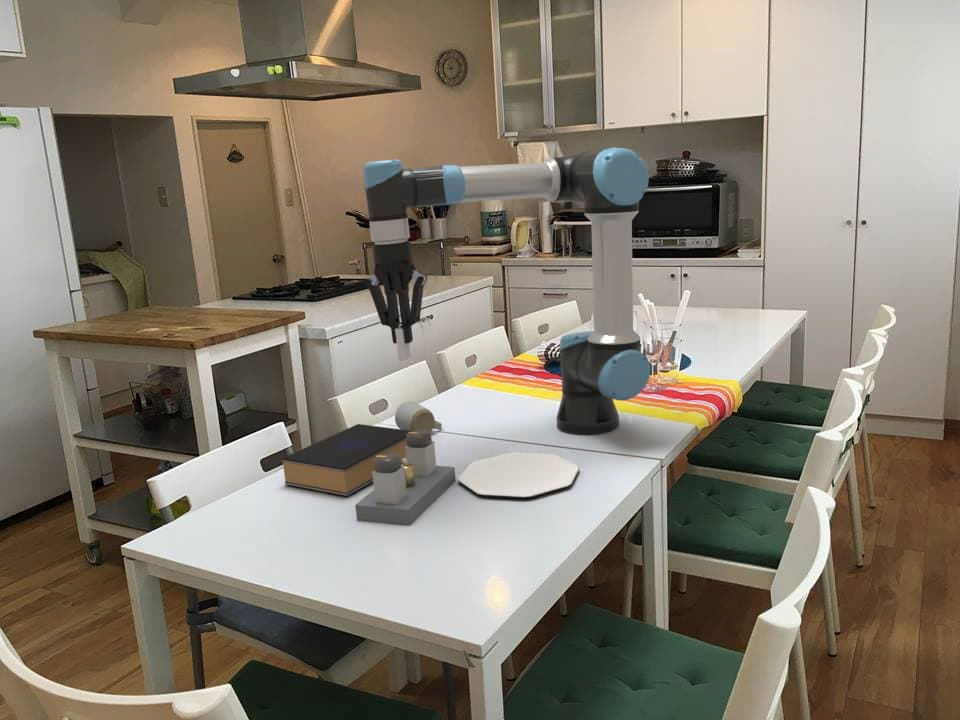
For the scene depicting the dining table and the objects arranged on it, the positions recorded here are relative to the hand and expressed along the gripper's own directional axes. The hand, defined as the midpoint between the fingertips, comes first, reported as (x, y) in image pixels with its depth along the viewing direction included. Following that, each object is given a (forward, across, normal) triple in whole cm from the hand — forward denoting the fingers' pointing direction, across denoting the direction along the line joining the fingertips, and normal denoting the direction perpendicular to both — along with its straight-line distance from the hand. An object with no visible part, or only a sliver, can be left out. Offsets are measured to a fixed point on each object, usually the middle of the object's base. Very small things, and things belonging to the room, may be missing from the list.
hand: (404, 358), depth 163 cm
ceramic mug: (+27, +12, -31) cm, 43 cm away
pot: (+23, -2, +10) cm, 25 cm away
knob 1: (+23, -2, +17) cm, 28 cm away
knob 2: (+23, -2, +3) cm, 23 cm away
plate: (+27, -20, -5) cm, 34 cm away
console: (+26, -2, +10) cm, 28 cm away
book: (+27, +17, -3) cm, 31 cm away
